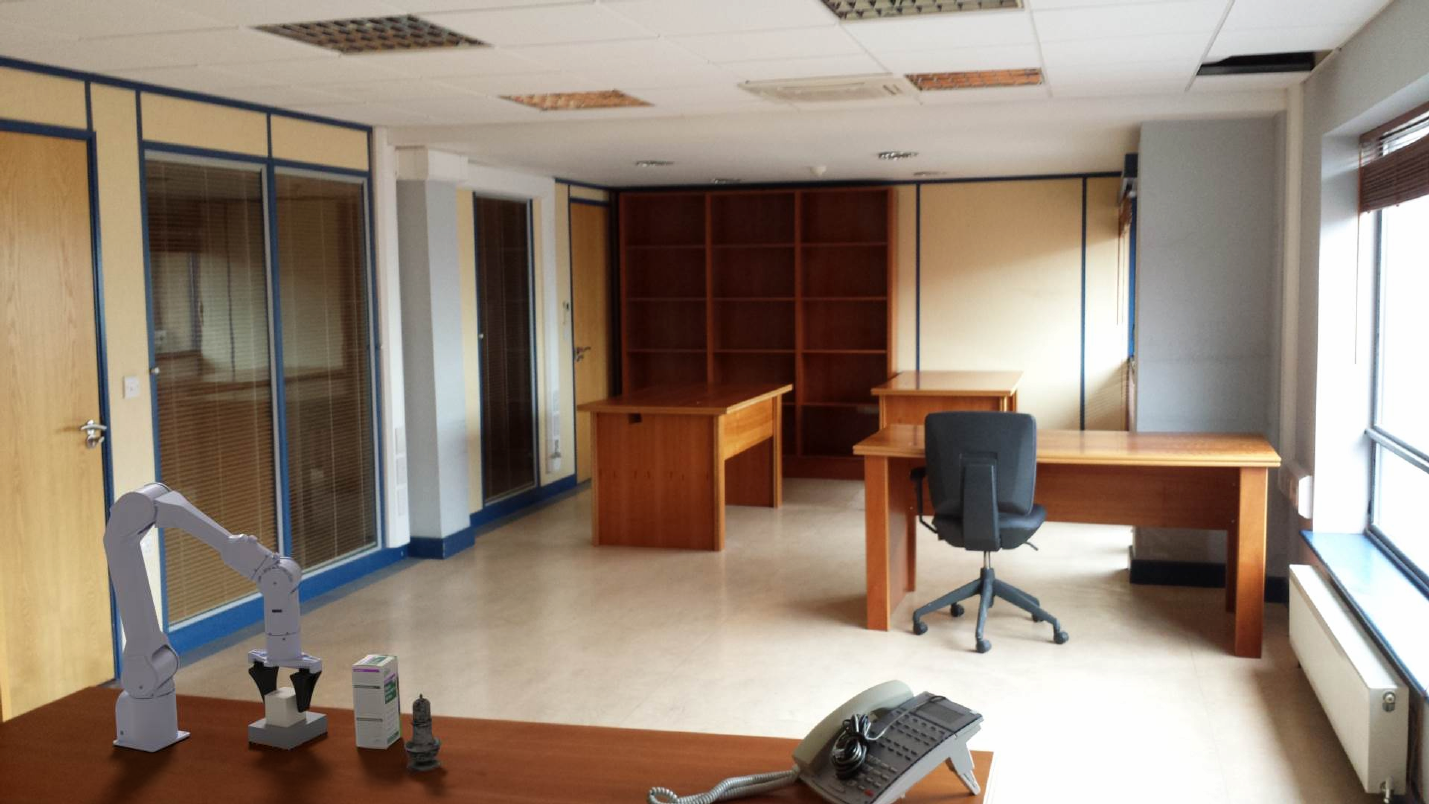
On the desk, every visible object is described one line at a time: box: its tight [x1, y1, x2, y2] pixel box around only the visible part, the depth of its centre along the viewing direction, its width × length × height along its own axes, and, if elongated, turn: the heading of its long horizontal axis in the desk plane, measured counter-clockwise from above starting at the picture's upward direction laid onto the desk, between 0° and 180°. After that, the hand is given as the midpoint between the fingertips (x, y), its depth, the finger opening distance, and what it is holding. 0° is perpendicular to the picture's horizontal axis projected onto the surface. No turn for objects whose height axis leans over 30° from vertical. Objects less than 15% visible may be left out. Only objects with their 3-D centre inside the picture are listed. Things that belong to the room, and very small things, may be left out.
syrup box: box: [350, 653, 403, 750], centre depth 200 cm, size 6×6×14 cm
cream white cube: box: [264, 686, 307, 727], centre depth 203 cm, size 5×5×5 cm
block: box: [247, 710, 328, 749], centre depth 204 cm, size 9×9×3 cm
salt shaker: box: [403, 693, 442, 773], centre depth 191 cm, size 6×6×12 cm
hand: (286, 707), depth 203 cm, fingers open, 7 cm apart
